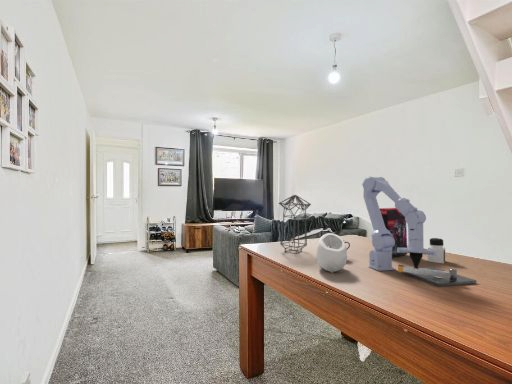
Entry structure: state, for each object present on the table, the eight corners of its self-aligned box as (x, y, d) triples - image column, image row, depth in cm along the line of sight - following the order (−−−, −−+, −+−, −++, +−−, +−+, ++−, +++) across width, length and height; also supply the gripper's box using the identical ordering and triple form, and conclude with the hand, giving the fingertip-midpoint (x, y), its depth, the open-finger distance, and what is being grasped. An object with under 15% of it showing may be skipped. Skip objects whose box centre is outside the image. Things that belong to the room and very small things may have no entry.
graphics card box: (388, 258, 156) (388, 208, 156) (377, 256, 162) (377, 208, 162) (407, 255, 164) (407, 207, 164) (396, 253, 170) (396, 207, 170)
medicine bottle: (444, 263, 144) (444, 240, 144) (427, 261, 148) (427, 238, 148) (445, 261, 150) (445, 238, 150) (429, 259, 154) (429, 237, 154)
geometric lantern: (289, 248, 184) (290, 194, 184) (311, 252, 174) (312, 195, 174) (275, 252, 172) (276, 194, 172) (297, 256, 162) (299, 195, 162)
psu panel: (438, 286, 109) (438, 282, 109) (399, 271, 129) (399, 268, 129) (476, 283, 112) (476, 279, 112) (432, 269, 133) (432, 266, 133)
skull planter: (342, 258, 147) (344, 228, 138) (347, 288, 129) (350, 255, 120) (315, 258, 149) (315, 227, 140) (316, 286, 131) (317, 254, 123)
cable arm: (456, 279, 113) (456, 269, 113) (456, 281, 111) (456, 270, 111) (398, 271, 125) (398, 262, 125) (397, 272, 122) (397, 263, 122)
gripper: (434, 238, 122) (435, 270, 122) (397, 236, 129) (397, 266, 129) (436, 241, 116) (436, 274, 116) (396, 238, 123) (396, 270, 123)
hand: (416, 270), depth 122 cm, fingers closed, pressing on cable arm
